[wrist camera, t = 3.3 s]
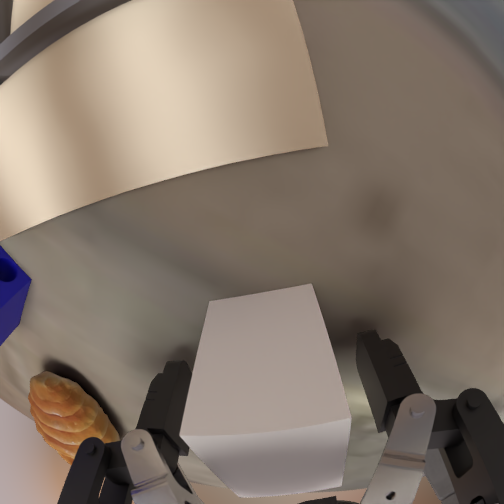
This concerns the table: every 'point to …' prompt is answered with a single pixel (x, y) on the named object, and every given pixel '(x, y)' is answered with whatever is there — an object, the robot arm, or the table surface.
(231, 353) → the keyed plug
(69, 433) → the pastry
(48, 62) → the board
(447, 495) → the coffeepot
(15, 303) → the cable clip
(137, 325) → the table surface
